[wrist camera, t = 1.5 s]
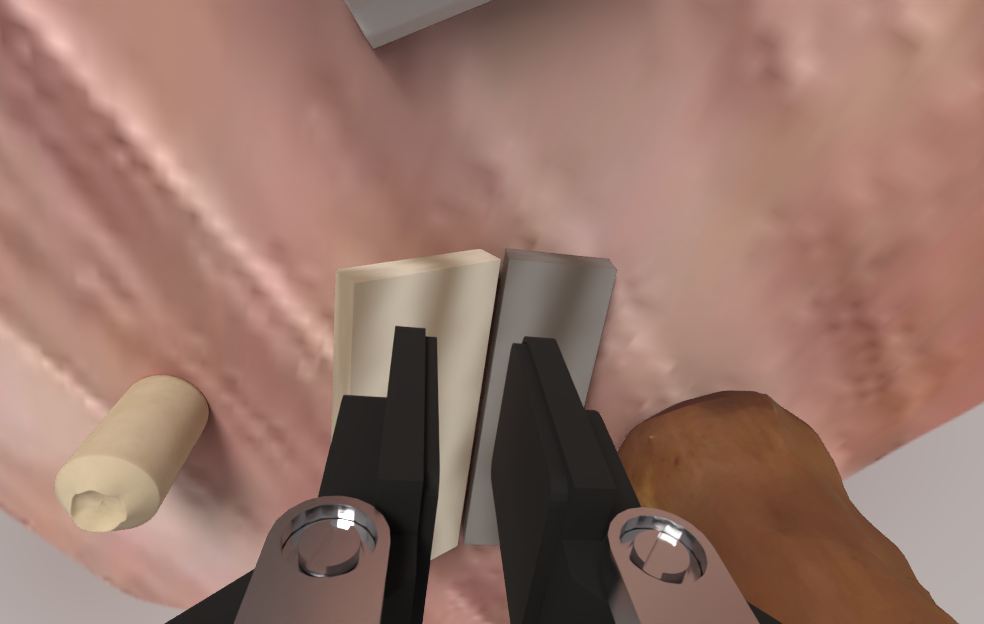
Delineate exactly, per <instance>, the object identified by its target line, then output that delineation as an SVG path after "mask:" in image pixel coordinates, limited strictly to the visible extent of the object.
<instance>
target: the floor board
mask: <svg viewBox="0 0 984 624" xmlns="http://www.w3.org/2000/svg"><path fill="white" fill-rule="evenodd" d="M616 272H617V269H616V268H615V267H614V265H613V264H612V263H611V262H610V260H609V259H603V258H593V257H583V256H573V255H564V254H554V253H544V252H534V251H524V250H514V249H505V255H504V261H503V268H502V274H501V281H500V287H499V294H498V300H497V307H496V313H495V320H494V326H493V333H492V339H491V346H490V352H489V359H488V365H487V372H486V378H485V385H484V391H483V397H482V404H481V410H480V417H479V423H478V430H477V436H476V443H475V449H474V456H473V462H472V469H471V475H470V482H469V488H468V495H467V501H466V508H465V514H464V521H463V536H464V544H470V545H500V542H499V534H498V527H497V520H496V512H495V505H494V498H493V490H492V483H491V462H492V456H493V450H494V444H495V438H496V432H497V426H498V421H499V415H500V409H501V403H502V397H503V391H504V386H505V380H506V374H507V368H508V362H509V356H510V351H511V347H512V344H513V343H520V344H522V341H523V338H524V337H525V336H529V337H542V338H555V339H556V341H557V343H558V346H559V348H560V351H561V353H562V356H563V358H564V361H565V363H566V365H567V368H568V370H569V373H570V375H571V378H572V380H573V383H574V385H575V388H576V390H577V392H578V395H579V397H580V400H581V402H582V405H583V407H584V405H585V401H586V397H587V393H588V388H589V384H590V380H591V376H592V372H593V368H594V364H595V359H596V355H597V351H598V347H599V343H600V339H601V335H602V330H603V326H604V322H605V318H606V314H607V310H608V306H609V301H610V297H611V293H612V289H613V285H614V281H615V277H616Z"/></svg>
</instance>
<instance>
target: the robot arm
mask: <svg viewBox="0 0 984 624" xmlns="http://www.w3.org/2000/svg"><path fill="white" fill-rule="evenodd" d="M439 481H440V448H439V402H438V356H437V337H430V336H426V328H416V327H403V326H395V332H394V340H393V349H392V357H391V365H390V374H389V382H388V391H387V397H373V396H357V395H343V397H342V400H341V404H340V408H339V413H338V417H337V421H336V425H335V429H334V433H333V437H332V442H331V446H330V450H329V454H328V458H327V462H326V466H325V471H324V475H323V479H322V483H321V487H320V491H319V495H318V498H315V499H311V500H307V501H304V502H302V503H300V504H298V505H296V506H294V507H292V508H291V509H289V510H288V511H287V512H285V513H284V514H283V515H282V516H281V517H280V518H279V519H278V520H276V522H275V524H274V525H273V527H272V529H271V530H270V532H269V533H268V536H267V538H266V541H265V543H264V546H263V549H262V551H261V554H260V556H259V559H258V562H257V564H256V567H255V569H254V570H252V571H250V572H249V573H247V574H245V575H244V576H242V577H240V578H239V579H237V580H235V581H234V582H232V583H231V584H229V585H227V586H226V587H224V588H222V589H221V590H219V591H217V592H216V593H214V594H212V595H211V596H209V597H208V598H206V599H204V600H203V601H201V602H199V603H198V604H196V605H194V606H193V607H191V608H190V609H188V610H186V611H185V612H183V613H181V614H180V615H178V616H176V617H175V618H173V619H172V620H170V621H168V622H167V623H165V624H422V622H423V614H424V606H425V598H426V590H427V583H428V575H429V567H430V559H431V551H432V543H433V536H434V528H435V520H436V512H437V504H438V495H439ZM491 483H492V490H493V498H494V505H495V512H496V520H497V527H498V534H499V542H500V549H501V557H502V564H503V571H504V579H505V586H506V594H507V601H508V608H509V616H510V623H511V624H783V623H781V622H779V621H778V620H776V619H775V618H773V617H771V616H770V615H768V614H767V613H765V612H763V611H762V610H760V609H759V608H757V607H755V606H754V605H752V604H751V603H749V602H748V601H746V600H745V599H744V597H743V595H742V594H741V592H740V590H739V589H738V587H737V585H736V584H735V582H734V580H733V579H732V577H731V575H730V574H729V572H728V570H727V569H726V567H725V565H724V564H723V562H722V560H721V559H720V557H719V555H718V554H717V552H716V550H715V549H714V547H713V546H712V544H711V543H710V542H709V541H708V539H707V538H706V537H705V535H704V534H703V533H701V532H700V531H699V530H698V529H697V528H695V527H694V526H693V525H692V524H691V523H689V522H687V521H686V520H684V519H682V518H680V517H678V516H677V515H675V514H672V513H669V512H666V511H663V510H660V509H654V508H646V507H641V505H640V503H639V501H638V498H637V496H636V494H635V491H634V489H633V487H632V485H631V482H630V480H629V478H628V476H627V473H626V471H625V469H624V467H623V464H622V462H621V460H620V458H619V455H618V453H617V451H616V449H615V446H614V444H613V442H612V440H611V437H610V435H609V433H608V431H607V428H606V426H605V424H604V422H603V419H602V417H601V416H600V414H599V412H597V411H595V410H584V407H583V405H582V402H581V400H580V397H579V395H578V392H577V390H576V388H575V385H574V383H573V380H572V378H571V375H570V373H569V370H568V368H567V365H566V363H565V361H564V358H563V356H562V353H561V351H560V348H559V346H558V343H557V341H556V339H555V338H542V337H529V336H525V337H524V338H523V341H522V344H520V343H513V344H512V347H511V351H510V356H509V362H508V368H507V374H506V380H505V386H504V391H503V397H502V403H501V409H500V415H499V421H498V426H497V432H496V438H495V444H494V450H493V456H492V462H491Z"/></svg>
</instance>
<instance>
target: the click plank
mask: <svg viewBox="0 0 984 624" xmlns="http://www.w3.org/2000/svg"><path fill="white" fill-rule="evenodd" d="M500 261H501V259H499V258H497V257H495V256H493V255H491V254H489V253H487V252H485V251H484V250H482V249H476V250H469V251H462V252H455V253H448V254H441V255H434V256H427V257H420V258H413V259H406V260H399V261H392V262H384V263H377V264H370V265H363V266H356V267H349V268H342V269H336V283H335V318H334V354H333V389H332V425H331V442H332V437H333V433H334V429H335V425H336V421H337V417H338V413H339V408H340V404H341V400H342V397H343V395H357V396H373V397H387V391H388V382H389V374H390V365H391V357H392V349H393V340H394V332H395V326H403V327H416V328H426V336H430V337H437V356H438V402H439V448H440V481H439V495H438V504H437V512H436V520H435V528H434V536H433V543H432V551H431V559H430V560H432V559H434V558H436V557H438V556H439V555H441V554H443V553H445V552H447V551H449V550H451V549H452V548H454V547H456V546H457V544H458V538H459V531H460V525H461V518H462V511H463V505H464V498H465V492H466V485H467V479H468V472H469V465H470V459H471V452H472V446H473V439H474V432H475V426H476V419H477V413H478V406H479V400H480V393H481V386H482V380H483V373H484V367H485V360H486V354H487V347H488V340H489V334H490V327H491V321H492V314H493V307H494V301H495V294H496V288H497V281H498V275H499V268H500Z"/></svg>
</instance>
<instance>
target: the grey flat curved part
mask: <svg viewBox="0 0 984 624" xmlns="http://www.w3.org/2000/svg"><path fill="white" fill-rule="evenodd" d="M489 1H492V0H344V2H345V3H346V5H347V7H348V8H349V10H350V12H351V13H352V15H353V17H354V19H355V20H356V22H357V24H358V25H359V27H360V29H361V30H362V32H363V34H364V35H365V37H366V39H367V40H368V42H369V43H370V45H371V46H372V47H373V49H375V48H377V47H380V46H382V45H384V44H387V43H389V42H392V41H394V40H397V39H399V38H402V37H404V36H406V35H409V34H411V33H414V32H416V31H419V30H421V29H424V28H426V27H428V26H431V25H433V24H436V23H438V22H441V21H443V20H445V19H448V18H450V17H453V16H455V15H458V14H460V13H463V12H465V11H467V10H470V9H472V8H475V7H477V6H480V5H482V4H485V3H487V2H489Z"/></svg>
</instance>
